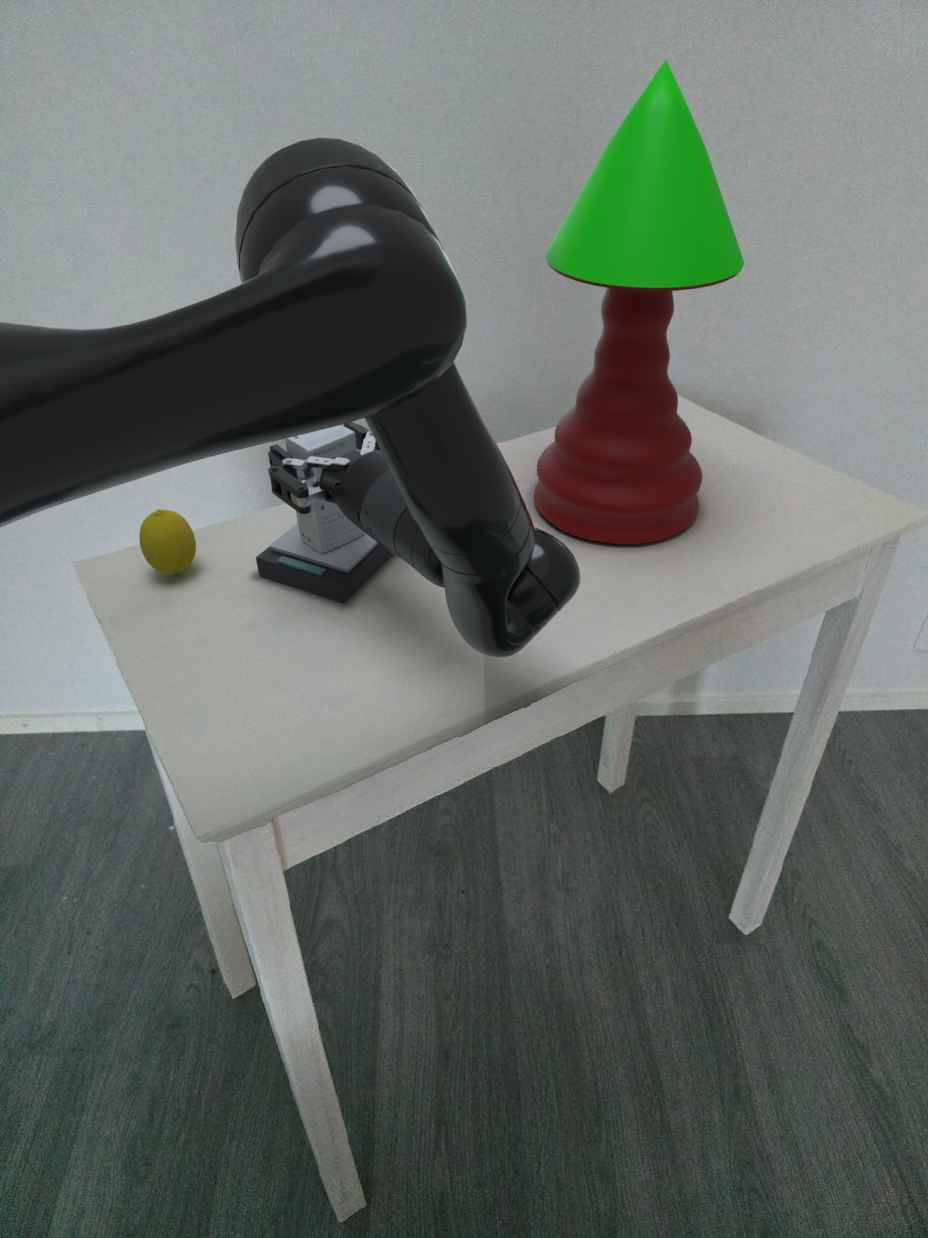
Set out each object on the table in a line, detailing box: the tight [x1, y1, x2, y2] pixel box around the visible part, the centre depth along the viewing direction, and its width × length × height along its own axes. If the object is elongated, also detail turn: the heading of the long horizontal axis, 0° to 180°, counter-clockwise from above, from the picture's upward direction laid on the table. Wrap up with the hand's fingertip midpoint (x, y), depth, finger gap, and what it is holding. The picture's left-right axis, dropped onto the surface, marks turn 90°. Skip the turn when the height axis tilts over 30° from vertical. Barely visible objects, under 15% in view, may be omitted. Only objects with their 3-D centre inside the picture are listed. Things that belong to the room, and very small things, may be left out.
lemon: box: [138, 508, 197, 575], centre depth 88 cm, size 6×6×8 cm
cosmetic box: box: [284, 424, 365, 554], centre depth 87 cm, size 6×4×12 cm
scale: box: [255, 522, 395, 604], centre depth 92 cm, size 13×11×3 cm
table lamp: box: [532, 58, 745, 545], centre depth 87 cm, size 20×20×45 cm
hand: (311, 441), depth 86 cm, fingers open, 8 cm apart
